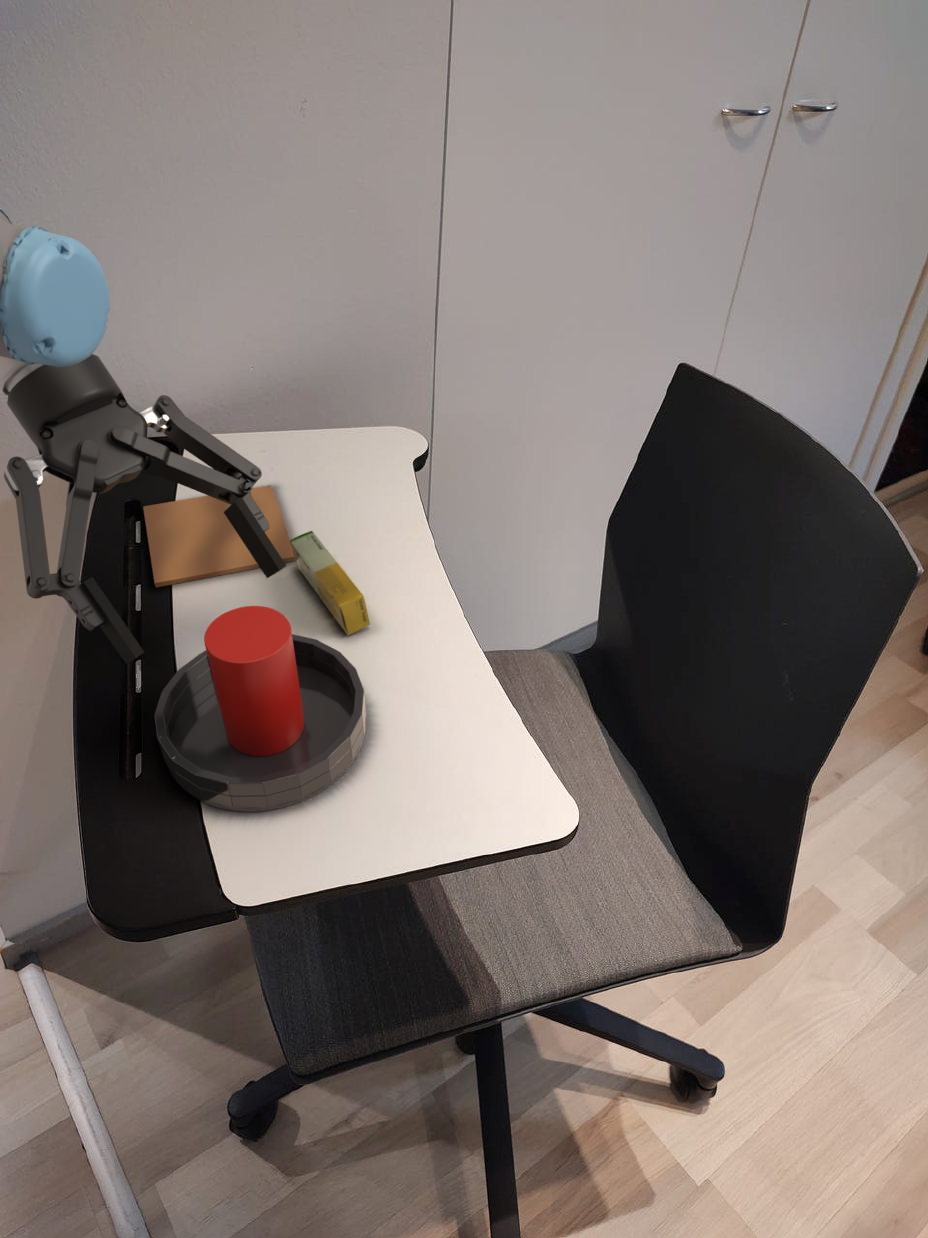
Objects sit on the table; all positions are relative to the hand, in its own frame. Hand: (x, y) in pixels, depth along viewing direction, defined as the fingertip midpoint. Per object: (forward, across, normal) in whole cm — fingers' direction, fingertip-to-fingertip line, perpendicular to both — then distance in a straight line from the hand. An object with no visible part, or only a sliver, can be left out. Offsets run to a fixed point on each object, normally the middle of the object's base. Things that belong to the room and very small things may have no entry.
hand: (210, 613), depth 69 cm
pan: (+10, 0, -4) cm, 11 cm away
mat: (-7, -14, -21) cm, 27 cm away
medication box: (+5, -15, -10) cm, 19 cm away
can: (+10, 0, -3) cm, 11 cm away
